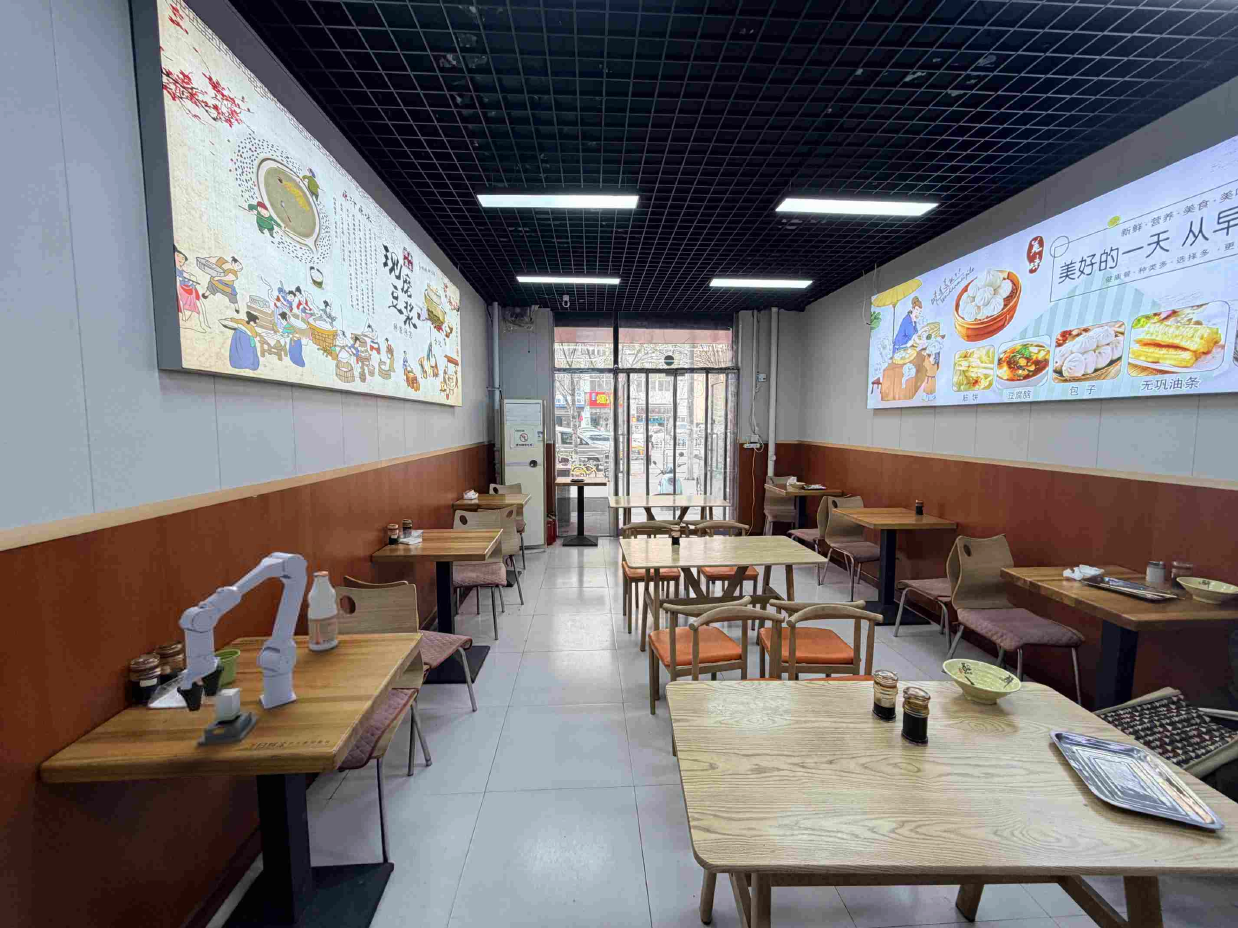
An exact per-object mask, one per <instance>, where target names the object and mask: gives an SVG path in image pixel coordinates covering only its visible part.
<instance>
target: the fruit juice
mask: <svg viewBox="0 0 1238 928" xmlns="http://www.w3.org/2000/svg"><path fill="white" fill-rule="evenodd" d="M329 575H330V573H329V572H328V571H317V572H314V573H313V576H312V577H313V579H314V582H313V584H312V586H311V589H310V591H309V593H308V595H307V601H308V604H309V607H308V609H307V621H308V646H309V648H310V650H311V651H325V650H330V649H331V648H335V647H336V646H337V645H338V642H339V633H338V632H339V630H338V609H337V605H336V596H337V595H336V594H337V593H336V590H335V589H334V588H333V587H332V585H331V582H330V581H329Z"/></svg>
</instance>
